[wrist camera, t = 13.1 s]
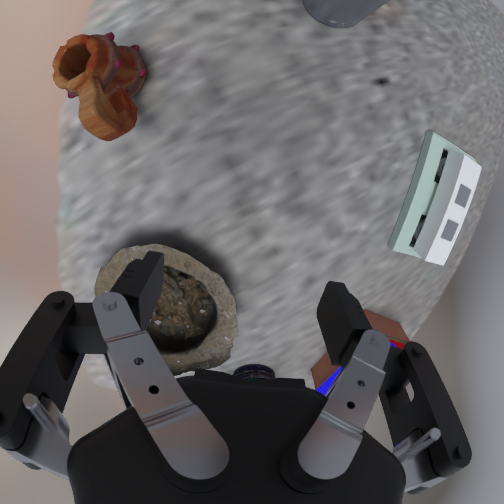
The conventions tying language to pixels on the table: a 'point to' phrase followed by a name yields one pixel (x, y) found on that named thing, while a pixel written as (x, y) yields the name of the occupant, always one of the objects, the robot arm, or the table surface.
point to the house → (328, 373)
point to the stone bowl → (183, 309)
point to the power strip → (447, 207)
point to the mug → (101, 82)
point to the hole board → (420, 192)
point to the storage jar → (254, 372)
